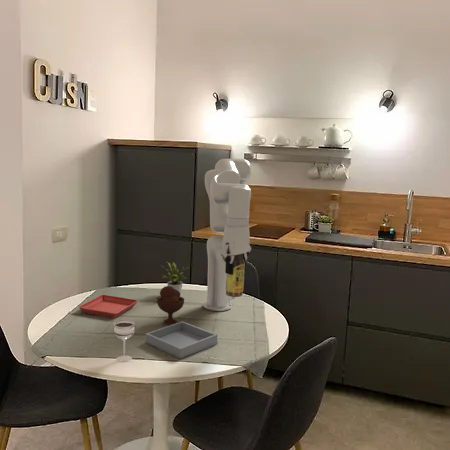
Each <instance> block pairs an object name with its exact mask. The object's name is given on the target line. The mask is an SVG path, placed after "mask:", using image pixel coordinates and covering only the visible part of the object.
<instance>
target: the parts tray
mask: <svg viewBox="0 0 450 450" xmlns="http://www.w3.org/2000/svg"><path fill="white" fill-rule="evenodd" d="M144 335H145V338H144V339H145V340H144V343H145V344H147V345H149V346H151V347H153V348H155V349H158V350H159V351H162V352H165V353H166V354H169V355H171V356H172V357H175V358H177V359H179V360H182V359H184V358H186V357H189V356H191V355H194V354H196V353H198V352H201V351H203V350H206V349H208V348H211V347H212V346H215V345H218V334H216V333H214V332H211V331H210V330H209V331H208V330H206V329H205V328H202V327H200V326H199V327H198V326H197V325H193V324H191V323H187V322H186V321H178V322H177V323H176V324H173V325H166V326H165V327H161V328H157V329H155V330H151V331H150V332H146V333H145V334H144Z"/></svg>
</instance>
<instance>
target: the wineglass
mask: <svg viewBox="0 0 450 450" xmlns="http://www.w3.org/2000/svg"><path fill="white" fill-rule="evenodd" d="M113 325H114V328H113V334H114V336H115V337H117V339H119V340H121V341H122V347H123V350H122V351H123V353H122V355H120V356H117V357H116V361H117V362H121V363H126V362H130V361H131V360H132V359H133V357H132V356H130V355H128V354H127V355H125V354H126V341H127V340H128V339H131V337H132V336H134V335H135V330H136V328H135V325H136V323H135V322H134V321H133V320H129V319H121V320H116V321H115V322H114V324H113Z"/></svg>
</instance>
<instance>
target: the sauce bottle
mask: <svg viewBox="0 0 450 450" xmlns="http://www.w3.org/2000/svg"><path fill="white" fill-rule="evenodd" d="M229 258H231V256H229ZM233 264H234V269H233V275H230V274H227V275H226V295H227V296H230V297H235V298H238V297H239V298H240V297H242V295H243V292H244V283H245V271H244V268H245V262H244V259H243V255H242V254H239V255H235V256H234V259H233Z"/></svg>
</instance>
